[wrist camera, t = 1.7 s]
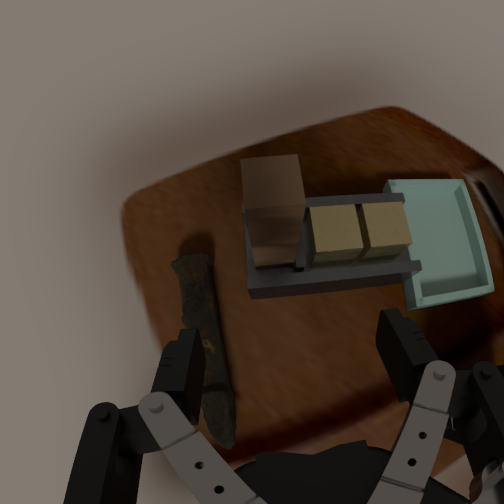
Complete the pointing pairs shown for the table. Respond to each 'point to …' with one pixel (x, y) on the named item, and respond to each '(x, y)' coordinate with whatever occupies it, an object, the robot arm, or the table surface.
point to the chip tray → (442, 242)
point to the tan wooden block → (274, 210)
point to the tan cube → (383, 230)
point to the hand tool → (208, 343)
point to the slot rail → (332, 275)
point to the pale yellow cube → (333, 234)
